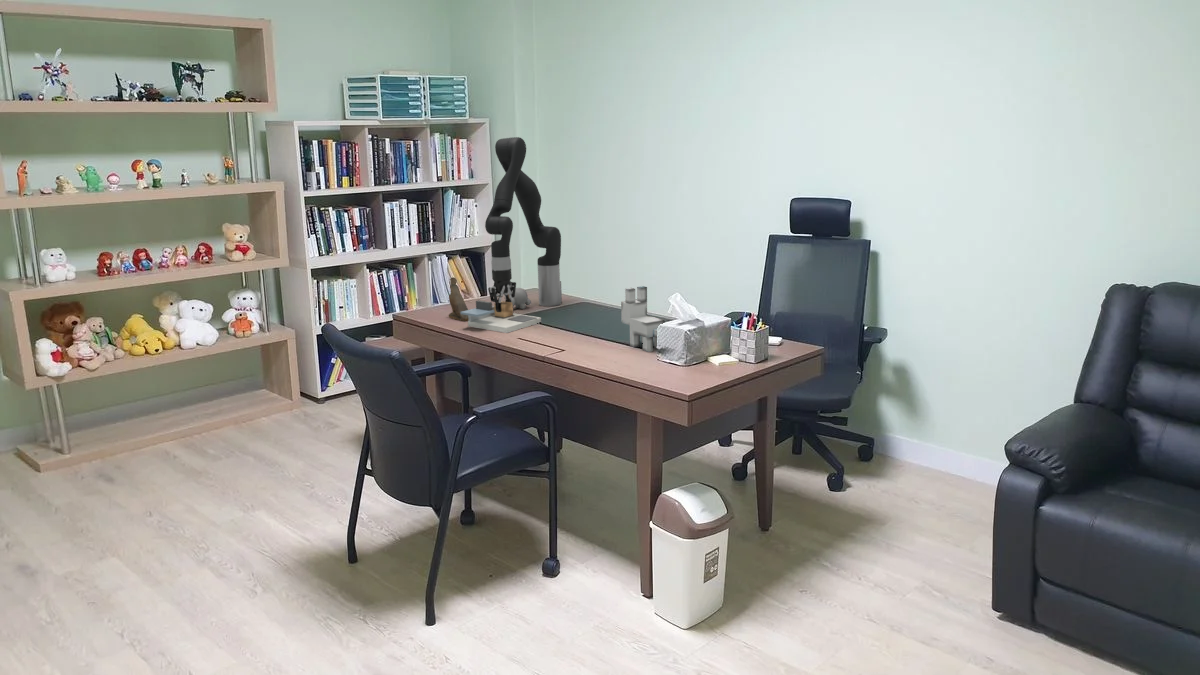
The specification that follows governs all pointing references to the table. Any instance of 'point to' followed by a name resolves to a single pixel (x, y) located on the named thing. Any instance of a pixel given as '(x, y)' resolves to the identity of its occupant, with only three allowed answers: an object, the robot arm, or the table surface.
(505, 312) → the wooden block
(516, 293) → the round bodied animal figurine
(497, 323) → the puzzle board
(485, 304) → the sliding lid
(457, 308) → the worn brown figurine
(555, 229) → the robot arm
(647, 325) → the toy llama
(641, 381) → the table surface
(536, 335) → the table surface
